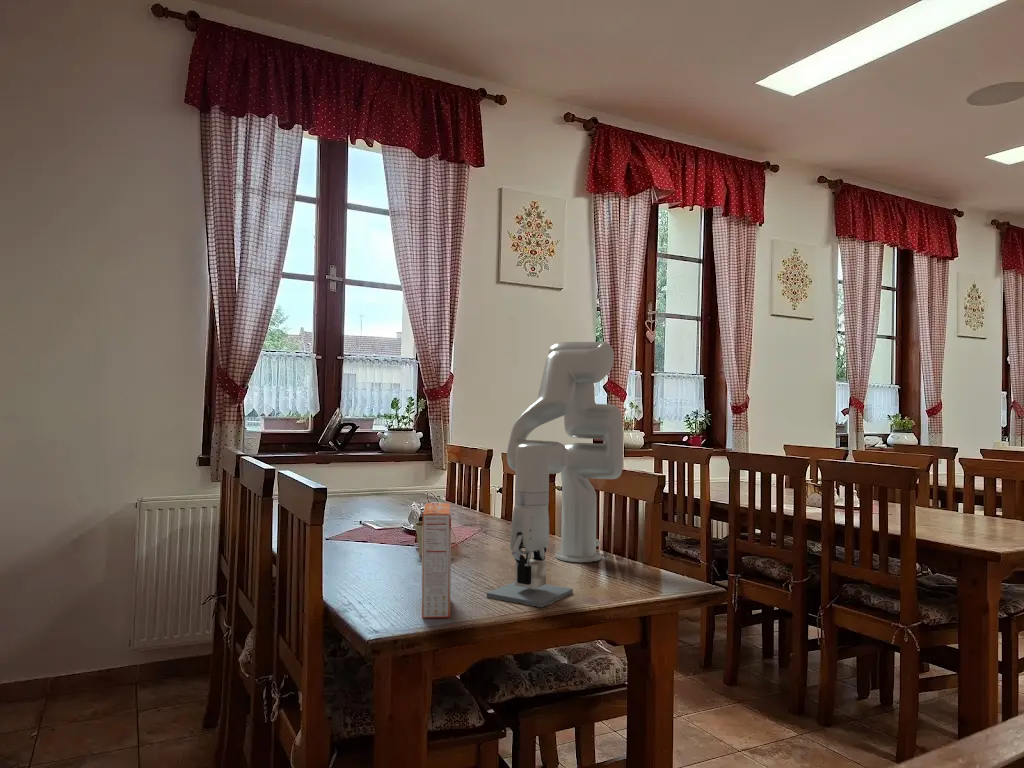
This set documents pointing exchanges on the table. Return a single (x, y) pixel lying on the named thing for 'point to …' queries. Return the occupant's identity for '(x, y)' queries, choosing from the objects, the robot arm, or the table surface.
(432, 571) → the cracker box
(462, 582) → the table surface
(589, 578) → the table surface
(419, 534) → the flower pot
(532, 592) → the slate board
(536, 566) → the cream cube
